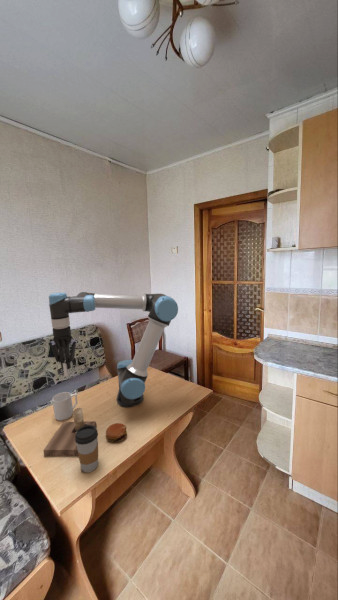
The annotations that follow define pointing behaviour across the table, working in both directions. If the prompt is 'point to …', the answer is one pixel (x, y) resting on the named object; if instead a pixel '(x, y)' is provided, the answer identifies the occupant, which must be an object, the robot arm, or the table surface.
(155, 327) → the robot arm
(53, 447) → the board
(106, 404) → the table surface
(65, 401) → the mug
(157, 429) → the table surface
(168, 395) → the table surface
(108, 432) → the burger
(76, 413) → the peg
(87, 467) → the coffee cup
